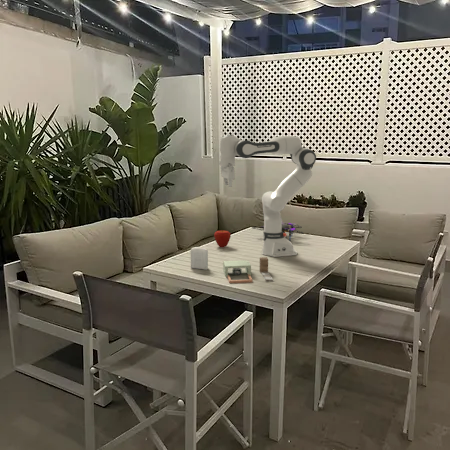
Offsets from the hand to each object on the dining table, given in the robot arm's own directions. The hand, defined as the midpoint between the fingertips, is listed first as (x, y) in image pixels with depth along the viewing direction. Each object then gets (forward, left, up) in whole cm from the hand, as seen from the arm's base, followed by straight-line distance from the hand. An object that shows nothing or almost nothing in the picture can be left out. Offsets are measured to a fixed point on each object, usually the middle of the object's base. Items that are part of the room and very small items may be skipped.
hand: (228, 185), depth 273 cm
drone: (-45, -46, -45) cm, 78 cm away
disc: (-1, +34, -44) cm, 56 cm away
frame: (-1, +45, -44) cm, 63 cm away
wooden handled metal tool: (-16, +41, -44) cm, 62 cm away
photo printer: (+19, +22, -45) cm, 53 cm away
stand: (-1, +34, -44) cm, 56 cm away
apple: (+1, -24, -44) cm, 51 cm away
